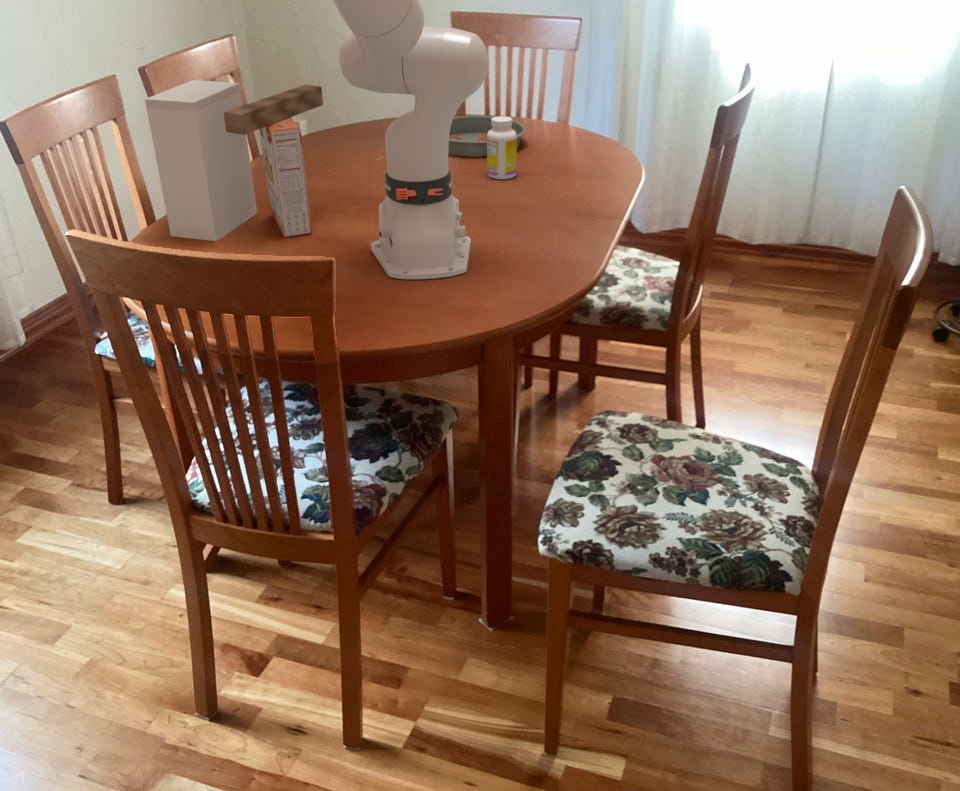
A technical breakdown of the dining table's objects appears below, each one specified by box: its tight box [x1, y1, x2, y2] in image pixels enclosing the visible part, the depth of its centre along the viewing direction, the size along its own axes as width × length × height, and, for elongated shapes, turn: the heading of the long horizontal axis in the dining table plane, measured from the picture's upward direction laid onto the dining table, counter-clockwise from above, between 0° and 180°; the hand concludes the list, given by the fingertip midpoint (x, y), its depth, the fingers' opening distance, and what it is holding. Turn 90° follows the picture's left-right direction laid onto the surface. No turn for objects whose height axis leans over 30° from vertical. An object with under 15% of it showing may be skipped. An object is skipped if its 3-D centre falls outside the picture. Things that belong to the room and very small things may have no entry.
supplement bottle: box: [486, 115, 518, 180], centre depth 206 cm, size 7×7×13 cm
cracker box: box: [259, 117, 313, 238], centre depth 178 cm, size 14×6×21 cm, turn 21°
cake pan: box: [448, 115, 527, 158], centre depth 230 cm, size 25×25×4 cm
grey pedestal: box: [144, 79, 258, 242], centre depth 177 cm, size 16×10×26 cm, turn 163°
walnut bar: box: [224, 84, 324, 135], centre depth 172 cm, size 24×4×4 cm, turn 153°
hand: (347, 1), depth 177 cm, fingers open, 8 cm apart
